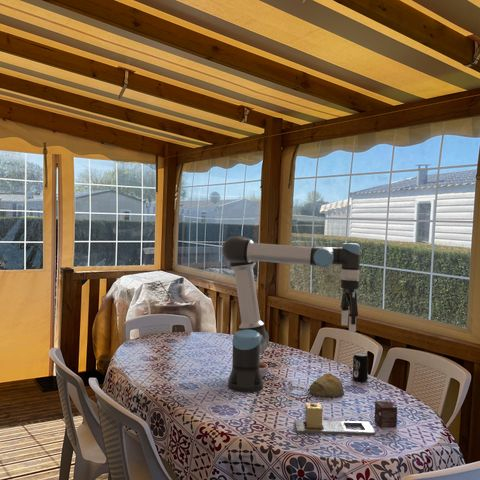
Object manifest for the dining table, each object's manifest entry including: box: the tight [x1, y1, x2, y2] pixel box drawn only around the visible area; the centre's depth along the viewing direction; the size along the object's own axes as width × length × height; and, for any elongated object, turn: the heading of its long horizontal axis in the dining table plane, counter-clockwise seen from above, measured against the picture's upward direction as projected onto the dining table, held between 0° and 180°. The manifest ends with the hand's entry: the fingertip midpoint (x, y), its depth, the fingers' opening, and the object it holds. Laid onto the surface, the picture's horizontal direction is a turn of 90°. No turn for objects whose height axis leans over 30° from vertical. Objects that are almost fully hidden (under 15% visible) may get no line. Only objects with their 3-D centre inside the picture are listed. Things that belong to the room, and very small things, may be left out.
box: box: [373, 400, 398, 429], centre depth 176 cm, size 6×6×7 cm
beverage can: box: [352, 351, 369, 383], centre depth 227 cm, size 7×7×12 cm
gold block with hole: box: [304, 402, 323, 430], centre depth 171 cm, size 5×5×8 cm
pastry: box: [308, 372, 345, 398], centre depth 208 cm, size 14×12×8 cm
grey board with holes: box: [294, 419, 376, 436], centre depth 171 cm, size 26×9×1 cm, turn 90°
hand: (348, 328), depth 216 cm, fingers open, 13 cm apart
